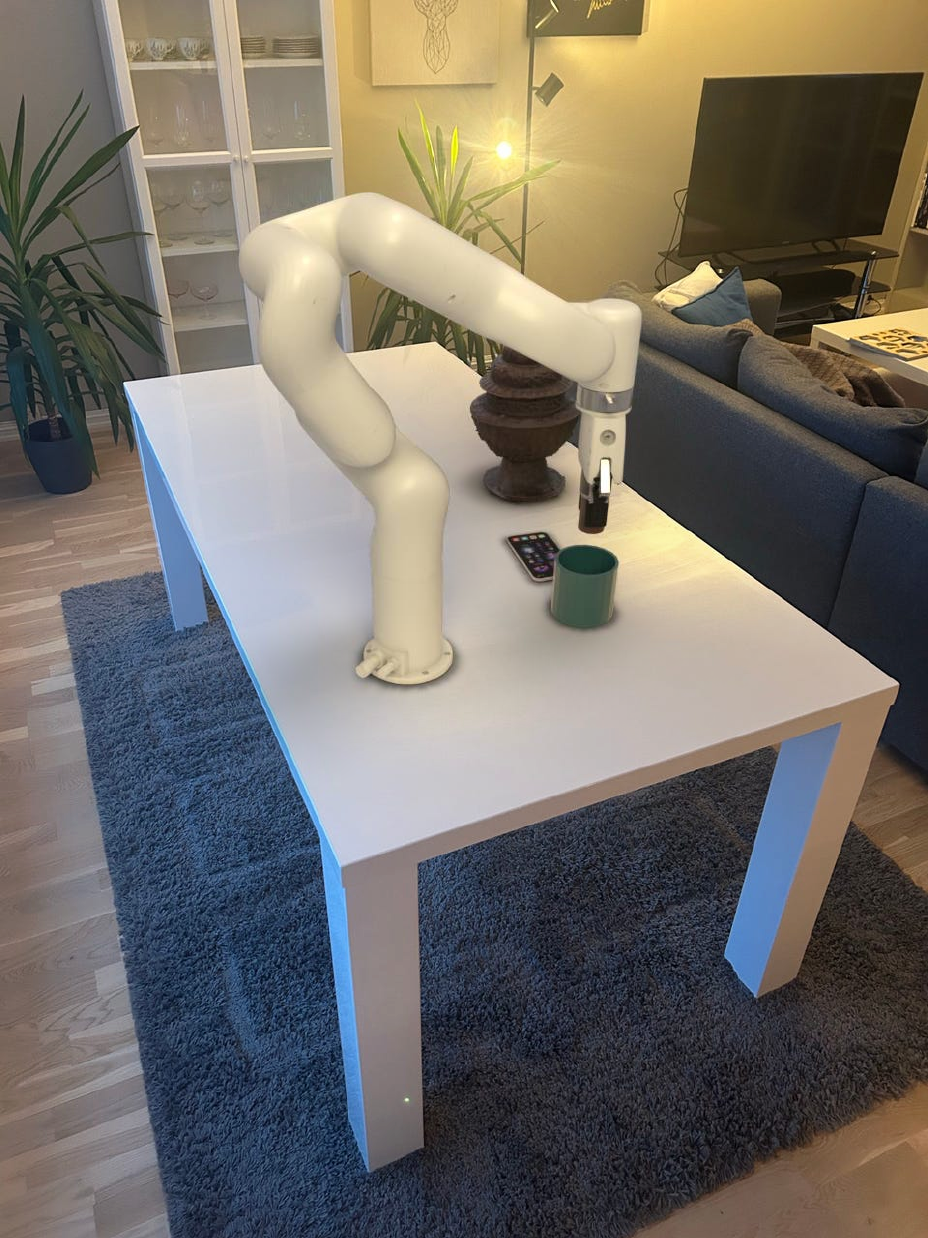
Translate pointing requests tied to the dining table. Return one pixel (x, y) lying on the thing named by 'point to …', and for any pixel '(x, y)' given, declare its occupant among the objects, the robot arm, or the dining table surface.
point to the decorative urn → (524, 425)
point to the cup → (584, 585)
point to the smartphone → (535, 553)
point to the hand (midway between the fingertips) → (592, 517)
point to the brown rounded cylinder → (584, 496)
